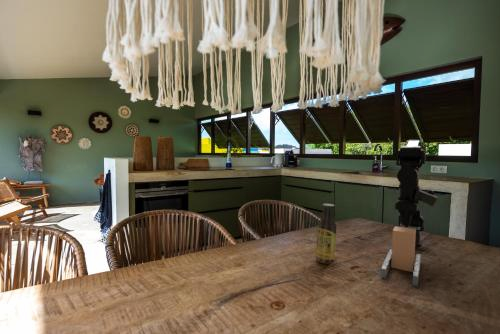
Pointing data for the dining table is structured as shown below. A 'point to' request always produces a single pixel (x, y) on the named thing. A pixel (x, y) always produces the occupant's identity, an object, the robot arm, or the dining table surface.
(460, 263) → the dining table surface
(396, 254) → the terracotta block
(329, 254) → the sauce bottle
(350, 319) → the dining table surface
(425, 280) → the dining table surface
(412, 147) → the robot arm
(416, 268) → the chute
